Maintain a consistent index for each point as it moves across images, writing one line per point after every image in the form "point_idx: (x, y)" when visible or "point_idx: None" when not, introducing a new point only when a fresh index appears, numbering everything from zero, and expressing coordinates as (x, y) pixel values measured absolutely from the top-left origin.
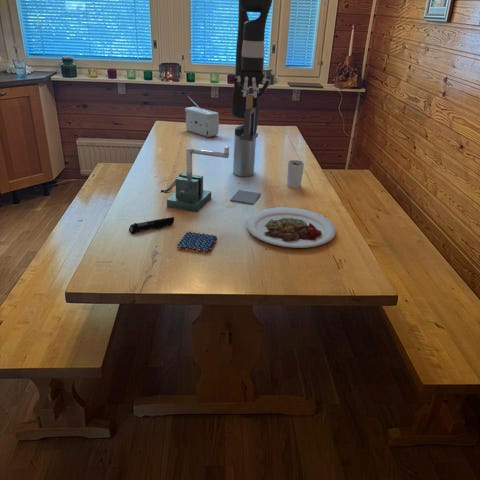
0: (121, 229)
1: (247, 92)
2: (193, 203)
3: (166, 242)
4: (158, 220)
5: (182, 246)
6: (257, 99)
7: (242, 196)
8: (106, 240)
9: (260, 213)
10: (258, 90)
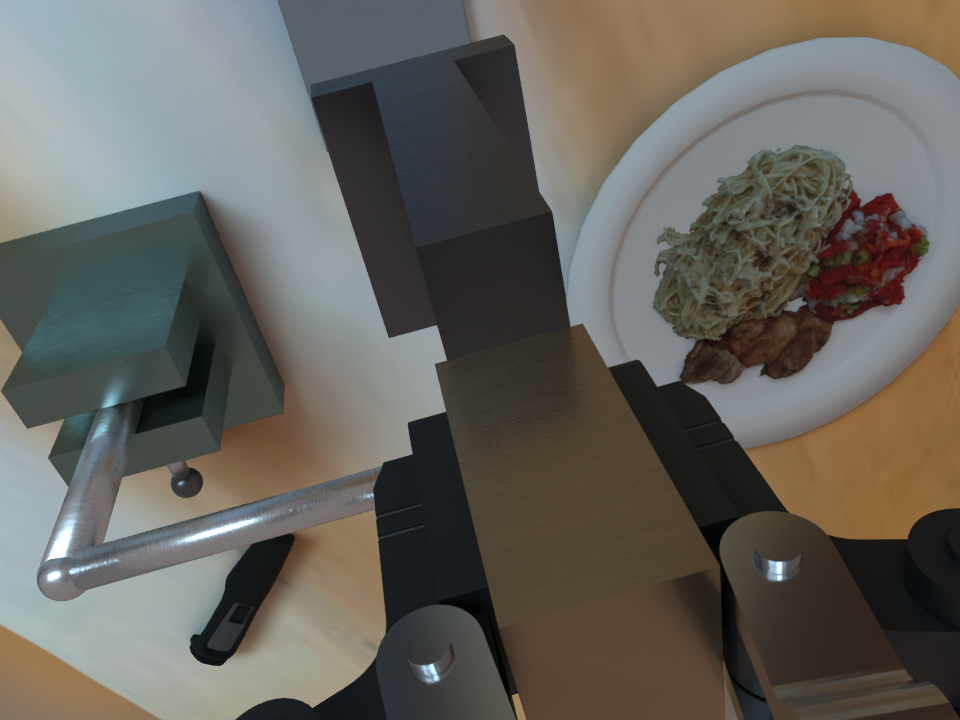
0: (161, 653)
1: (489, 712)
2: (253, 415)
3: (378, 615)
4: (257, 594)
5: None
6: (756, 508)
7: (362, 47)
8: (199, 710)
9: (597, 237)
10: (901, 671)
